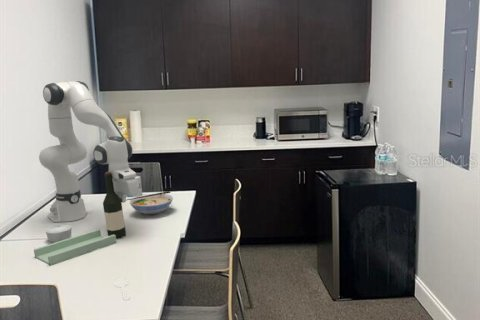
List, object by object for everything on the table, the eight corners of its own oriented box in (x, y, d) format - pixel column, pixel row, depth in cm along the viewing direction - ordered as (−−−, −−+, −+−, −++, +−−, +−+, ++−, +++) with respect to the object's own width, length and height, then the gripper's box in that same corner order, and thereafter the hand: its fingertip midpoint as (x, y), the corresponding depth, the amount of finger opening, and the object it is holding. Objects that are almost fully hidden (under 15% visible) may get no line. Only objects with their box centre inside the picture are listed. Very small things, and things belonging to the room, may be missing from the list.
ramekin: (66, 233, 224) (65, 223, 223) (77, 238, 216) (75, 227, 215) (42, 240, 217) (41, 229, 216) (53, 245, 209) (51, 234, 208)
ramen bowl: (135, 222, 235) (133, 207, 233) (123, 211, 255) (122, 197, 253) (182, 213, 246) (181, 198, 244) (168, 203, 266) (166, 189, 264)
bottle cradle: (34, 257, 196) (33, 249, 195) (99, 236, 218) (98, 229, 217) (50, 265, 187) (49, 257, 186) (116, 242, 208) (115, 235, 208)
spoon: (119, 302, 154) (119, 301, 154) (112, 281, 170) (112, 279, 170) (135, 299, 156) (135, 297, 156) (127, 278, 172) (127, 276, 172)
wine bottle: (121, 239, 212) (112, 174, 205) (104, 239, 213) (94, 175, 206) (129, 232, 220) (120, 169, 213) (112, 232, 221) (103, 170, 214)
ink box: (126, 197, 285) (124, 177, 283) (129, 194, 290) (127, 175, 288) (139, 196, 284) (137, 177, 282) (142, 194, 289) (140, 175, 286)
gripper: (100, 171, 219) (104, 200, 222) (126, 176, 205) (129, 207, 208) (112, 168, 223) (115, 197, 226) (138, 173, 210) (141, 203, 212)
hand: (122, 202), depth 217 cm, fingers closed
